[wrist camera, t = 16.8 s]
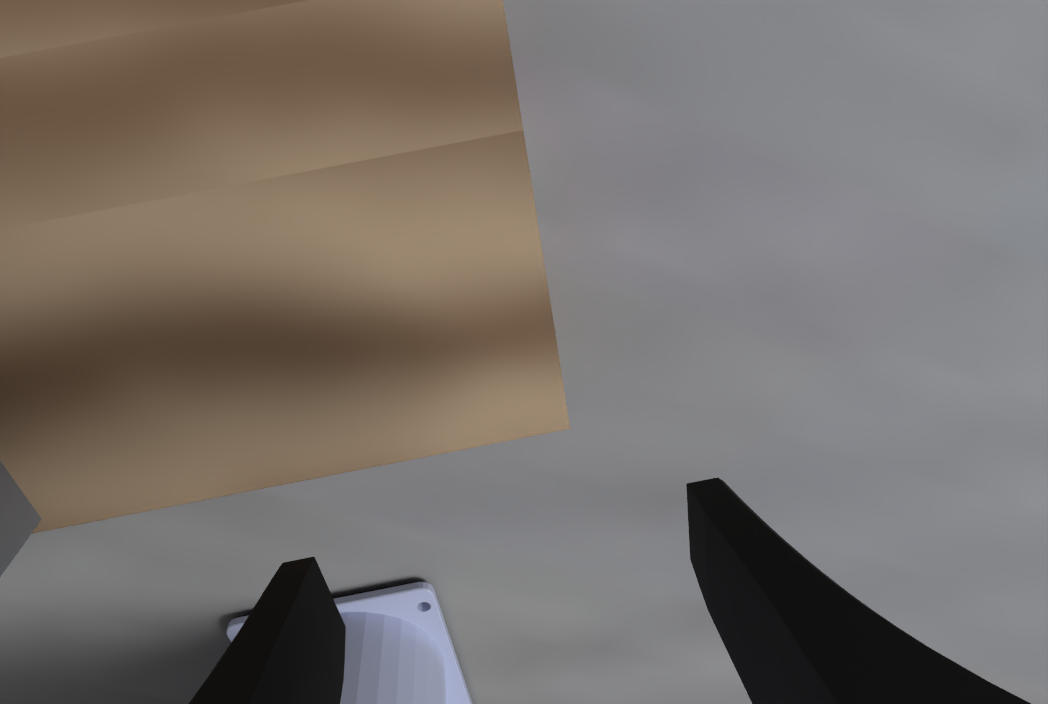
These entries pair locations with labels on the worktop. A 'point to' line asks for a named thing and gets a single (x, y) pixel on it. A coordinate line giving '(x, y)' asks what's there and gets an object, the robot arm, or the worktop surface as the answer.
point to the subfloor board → (260, 246)
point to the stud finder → (13, 518)
